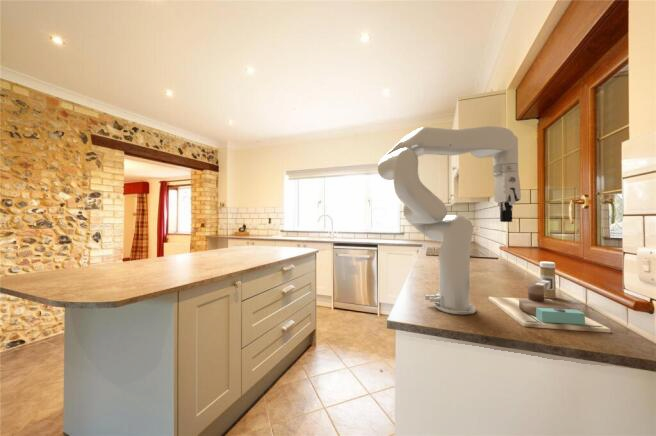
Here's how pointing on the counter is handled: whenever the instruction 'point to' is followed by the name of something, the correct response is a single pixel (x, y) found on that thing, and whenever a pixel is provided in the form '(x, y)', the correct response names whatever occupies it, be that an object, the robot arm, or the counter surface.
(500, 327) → the counter surface
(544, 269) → the sprinkles bottle
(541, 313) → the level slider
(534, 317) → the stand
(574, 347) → the counter surface
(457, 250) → the robot arm
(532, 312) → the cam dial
